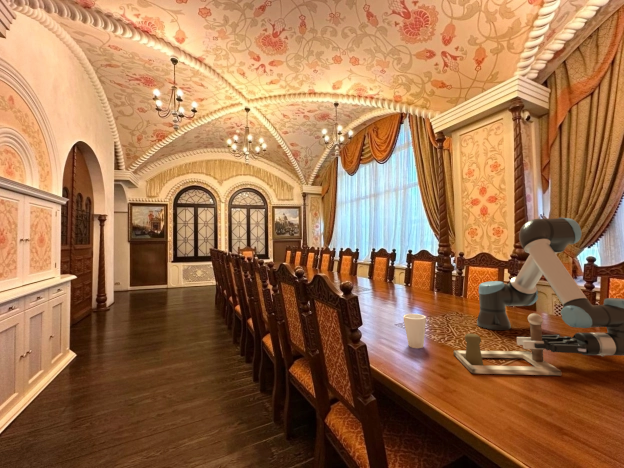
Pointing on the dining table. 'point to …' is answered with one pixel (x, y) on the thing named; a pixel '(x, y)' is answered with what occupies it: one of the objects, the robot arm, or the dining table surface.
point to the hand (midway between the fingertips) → (520, 342)
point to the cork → (473, 349)
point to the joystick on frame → (515, 356)
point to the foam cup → (415, 329)
